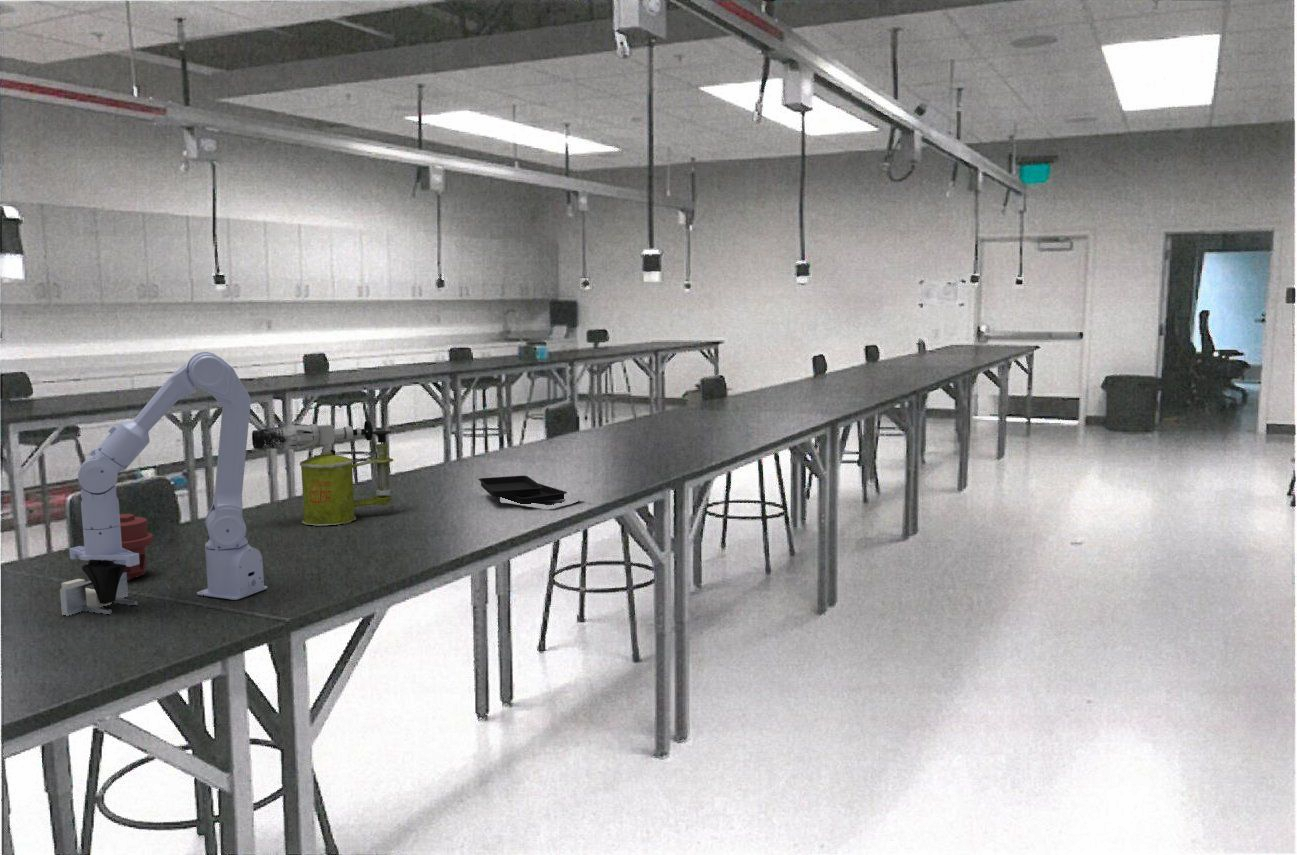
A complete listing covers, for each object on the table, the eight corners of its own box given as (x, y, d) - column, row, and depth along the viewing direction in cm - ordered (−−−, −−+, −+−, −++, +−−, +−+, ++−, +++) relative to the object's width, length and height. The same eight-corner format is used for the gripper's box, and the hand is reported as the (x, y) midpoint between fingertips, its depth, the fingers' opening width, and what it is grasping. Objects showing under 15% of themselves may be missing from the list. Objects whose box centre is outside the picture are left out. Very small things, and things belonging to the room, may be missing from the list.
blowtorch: (403, 518, 244) (399, 417, 241) (264, 534, 227) (258, 427, 223) (387, 508, 255) (383, 413, 252) (253, 524, 238) (247, 421, 234)
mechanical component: (88, 579, 190) (141, 568, 198) (110, 588, 184) (164, 577, 192) (83, 516, 189) (137, 508, 197) (105, 524, 183) (160, 515, 190)
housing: (152, 600, 177) (150, 575, 176) (92, 620, 166) (90, 593, 165) (122, 596, 179) (120, 571, 179) (61, 615, 168) (59, 589, 168)
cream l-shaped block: (112, 604, 174) (111, 584, 174) (95, 609, 172) (94, 589, 171) (75, 597, 179) (74, 577, 178) (58, 601, 176) (57, 582, 176)
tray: (592, 499, 266) (592, 480, 266) (548, 516, 246) (548, 496, 245) (498, 491, 279) (498, 473, 278) (449, 506, 258) (449, 487, 257)
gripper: (50, 527, 170) (57, 604, 171) (111, 534, 164) (117, 613, 166) (87, 519, 176) (93, 592, 178) (147, 525, 171) (152, 601, 172)
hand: (107, 602), depth 172 cm, fingers closed
